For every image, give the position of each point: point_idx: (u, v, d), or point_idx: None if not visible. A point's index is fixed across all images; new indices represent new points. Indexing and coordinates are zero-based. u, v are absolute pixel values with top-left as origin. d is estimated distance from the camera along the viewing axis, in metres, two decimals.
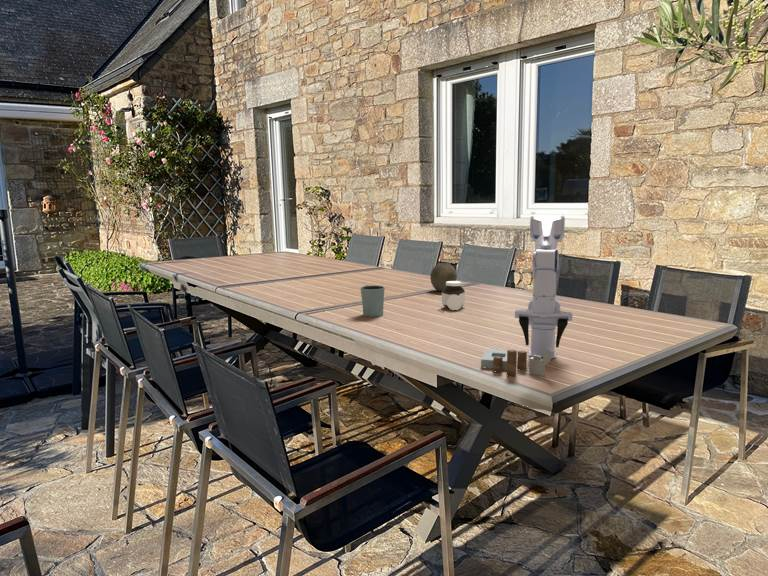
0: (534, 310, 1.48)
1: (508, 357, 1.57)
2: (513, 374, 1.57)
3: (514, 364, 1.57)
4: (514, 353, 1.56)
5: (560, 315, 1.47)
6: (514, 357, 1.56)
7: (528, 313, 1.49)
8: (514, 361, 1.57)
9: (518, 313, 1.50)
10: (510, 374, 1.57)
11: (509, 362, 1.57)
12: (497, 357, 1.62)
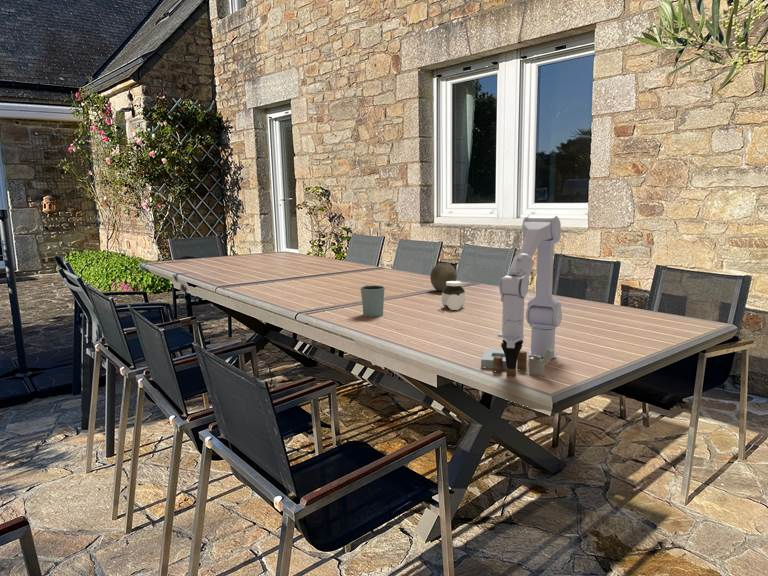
0: None
1: None
2: (513, 374, 1.57)
3: None
4: None
5: (505, 339, 1.53)
6: None
7: None
8: None
9: None
10: (510, 374, 1.57)
11: None
12: (497, 357, 1.62)
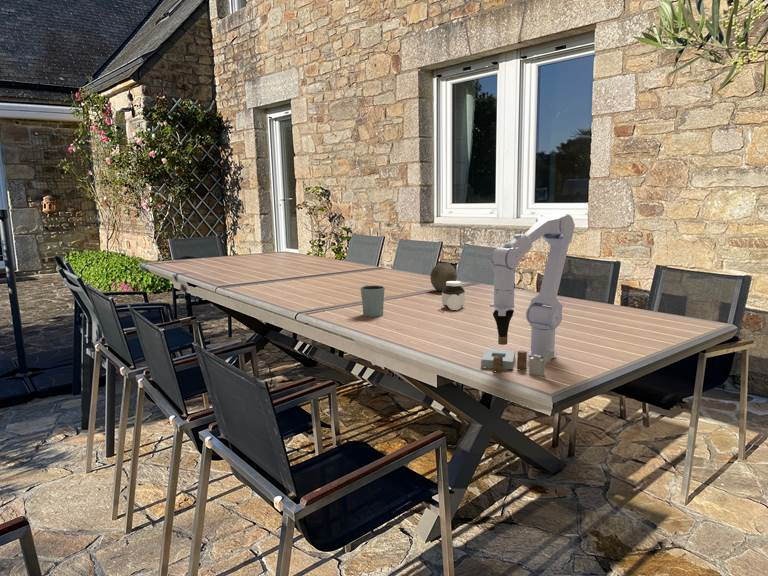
0: None
1: None
2: (504, 342, 1.64)
3: None
4: None
5: (496, 308, 1.60)
6: None
7: None
8: None
9: None
10: (501, 342, 1.65)
11: None
12: (497, 357, 1.62)
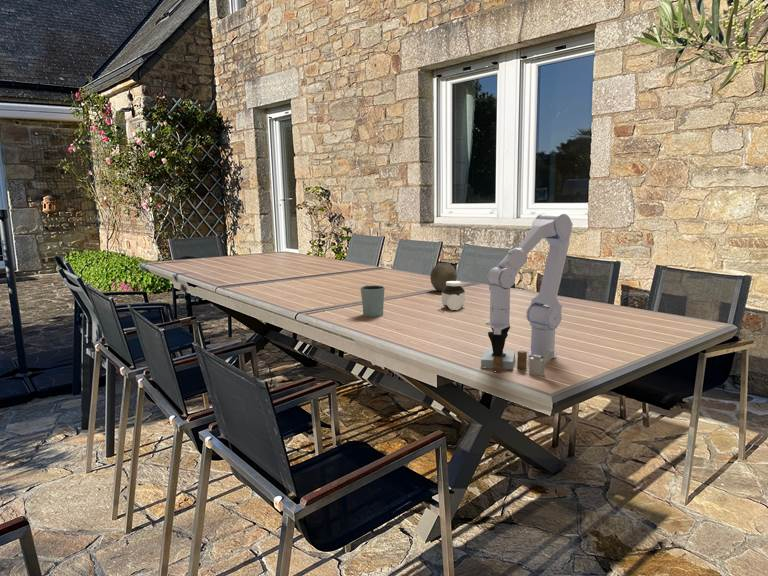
0: None
1: None
2: None
3: None
4: None
5: (492, 327, 1.65)
6: None
7: None
8: None
9: None
10: None
11: None
12: (497, 357, 1.62)
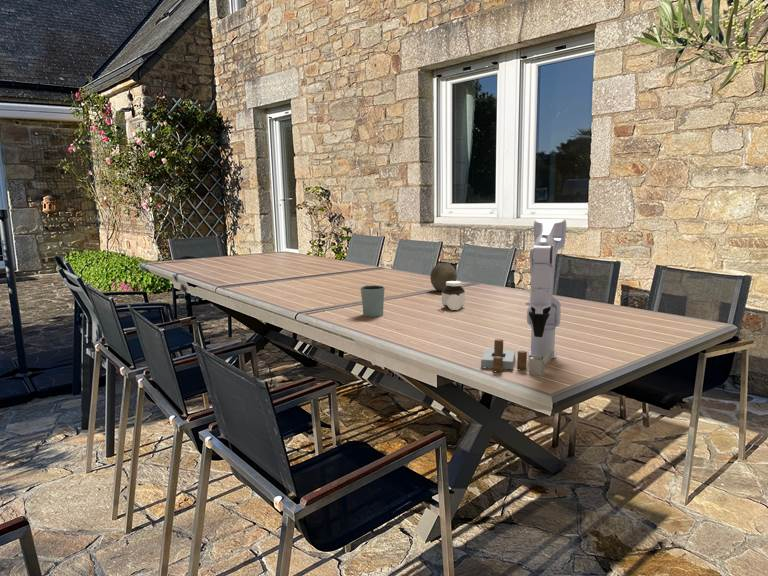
0: None
1: (495, 346, 1.69)
2: None
3: (501, 352, 1.68)
4: (501, 342, 1.68)
5: (533, 306, 1.60)
6: (501, 346, 1.68)
7: None
8: (501, 350, 1.68)
9: None
10: None
11: (496, 351, 1.69)
12: (497, 357, 1.62)
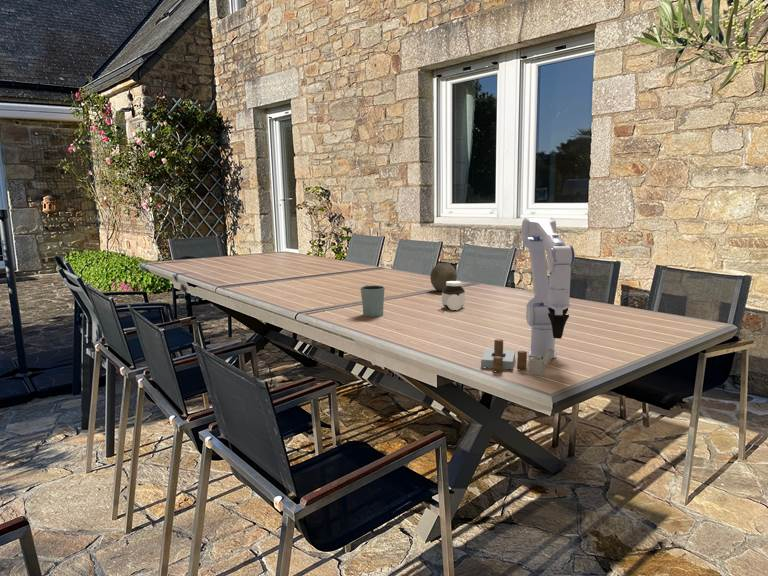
0: None
1: (495, 346, 1.69)
2: None
3: (501, 352, 1.68)
4: (500, 342, 1.68)
5: (552, 307, 1.58)
6: (500, 346, 1.68)
7: None
8: (501, 350, 1.68)
9: None
10: None
11: (496, 351, 1.69)
12: (497, 357, 1.62)
